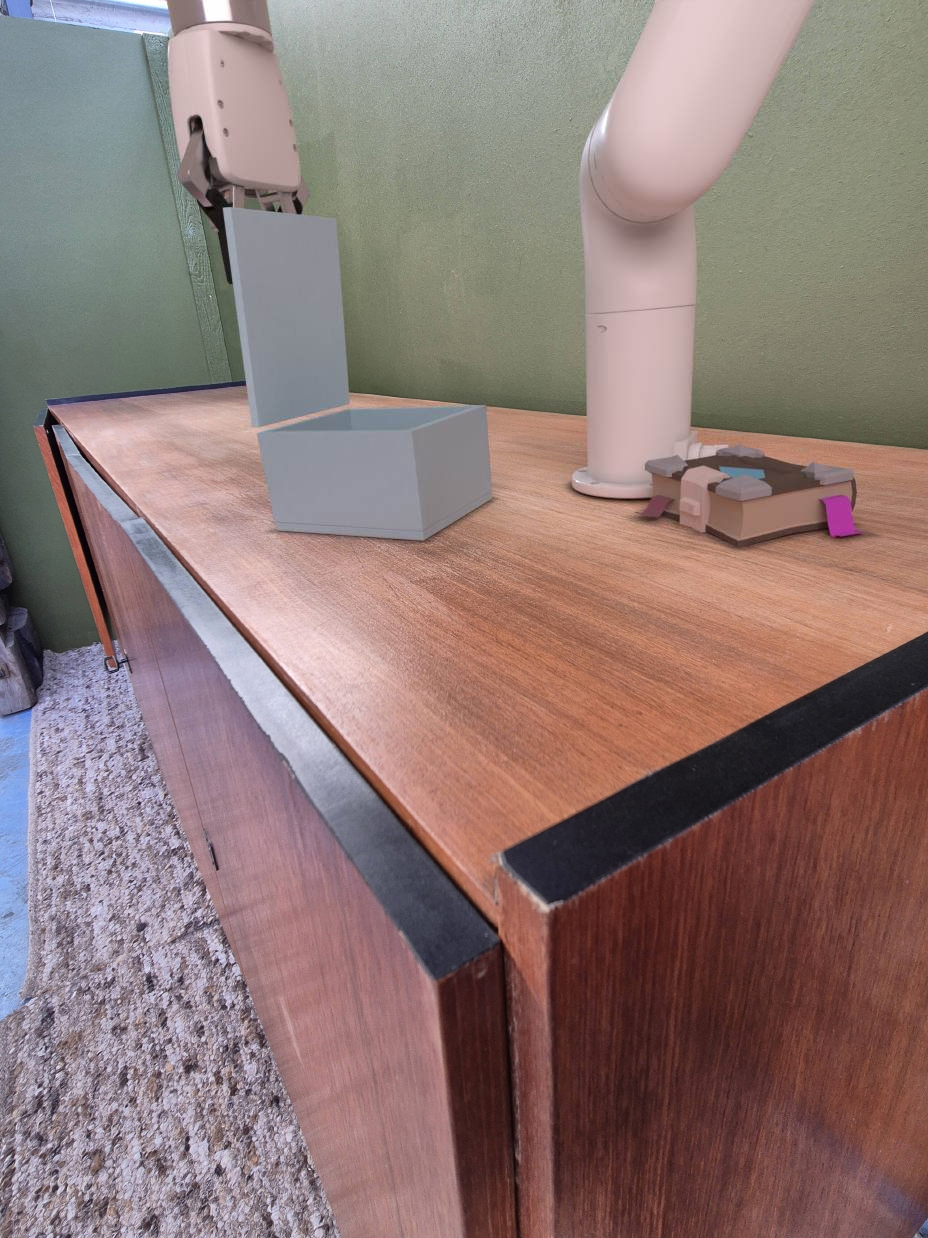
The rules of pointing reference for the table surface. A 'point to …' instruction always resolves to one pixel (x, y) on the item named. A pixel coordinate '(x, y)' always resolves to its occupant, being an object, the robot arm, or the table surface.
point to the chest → (378, 470)
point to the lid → (288, 312)
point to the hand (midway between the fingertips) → (266, 279)
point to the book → (752, 495)
